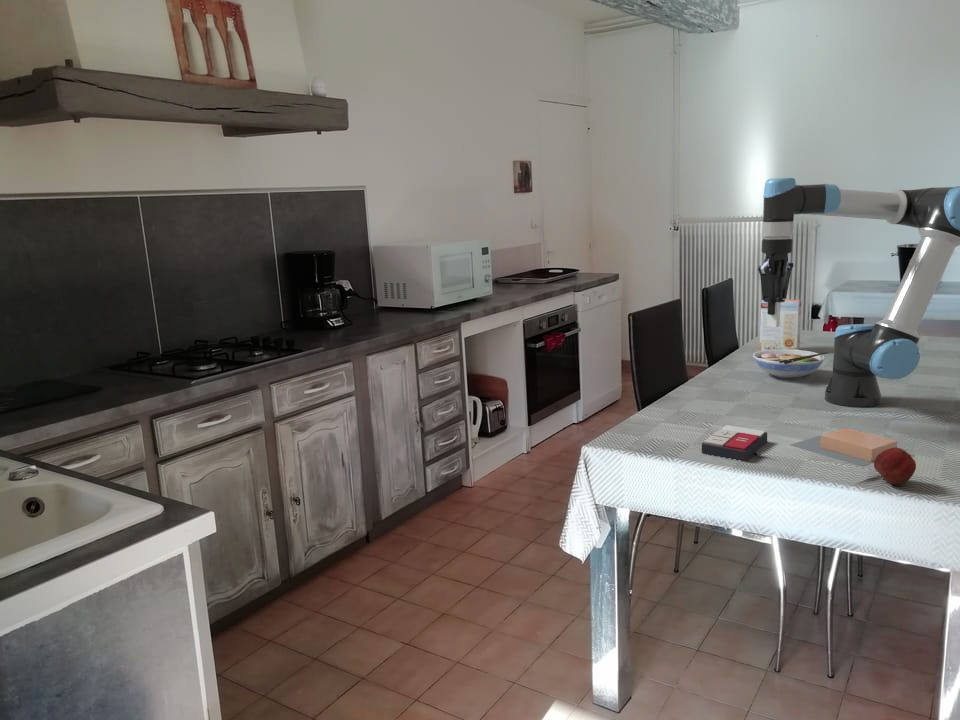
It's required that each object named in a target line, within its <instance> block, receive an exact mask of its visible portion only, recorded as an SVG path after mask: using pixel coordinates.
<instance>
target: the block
mask: <svg viewBox="0 0 960 720" xmlns="http://www.w3.org/2000/svg"><path fill="white" fill-rule="evenodd" d="M820 436H821V442H820V447H821V448H824V449H828V450H831V451H835V452H838V453H842V454H845V455H849V456H852V457H856V458H860V459H863V460H867V461H870V462H872V461H875V459H876V457H877V456H878V455H879V454H880V453H881V452H883V451H885V450H887V449H890V448H895V447H897V448H898V440H895V439H891V438H887V437H882V436H879V435H876V434H871V433H867V432H863V431H860V430H855V429H853V428H852V429H851V428H847V427H845V428H841V429H838V430H834V431H830V432H829V433H828V434H827V433H824V434H821V435H820Z"/></svg>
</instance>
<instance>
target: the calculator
mask: <svg viewBox="0 0 960 720" xmlns="http://www.w3.org/2000/svg"><path fill="white" fill-rule="evenodd" d="M767 443H768V432H767V431H764V430H760V429H753V428H747V427H742V426H741V427H740V426H734V425H728V424H725V425H724V426H722V428H720V429H718V430H716V431H715V432H714V433H713V434H712V435H710V436H709V437H708V438H707V439H705V440H704V441H703V442H702V443H701V454H702V453H703V454H702V455H707V454H708V456H712V455H714V456H713V457H717V456H720V457H719V458H723V457H725V458H724V459H728V458H731V459H730V460H733V459H736V460H735V461H738V460H741V461H740V462H744V461H746V462H747V461H749V460H750V459H751V458H752V457H754V456H755V455H756V454H757V452H756V451H758V450H759V449H761V447H763V446H765V445H766V444H767ZM754 454H755V455H754ZM753 455H754V456H753ZM749 458H750V459H749ZM748 459H749V460H748Z"/></svg>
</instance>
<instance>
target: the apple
mask: <svg viewBox="0 0 960 720" xmlns="http://www.w3.org/2000/svg"><path fill="white" fill-rule="evenodd" d="M902 449H903V448H900V447H898V446H897V447H895V448H890V449H887V450H885V451H883V452H881V453H880V454H879V455H878V456H877V457H876V459H875V461H874V462H873V467H874V469H875V471H876V472H878V473H879V475H880V476H881V478H882V481H885V482H887V483H888V484H890V485H894V486H895V485H896V486H897V485H898V486H899V485H903V484H905V483H906V482H908V481H909V480H910V479H911V478H912V477H913V476H914V474H915V472H916V469H917V463H916V460H915V459H914V458H913V457H912V456H911V455H910V453H908V451H904V450H905V449H904V450H902Z"/></svg>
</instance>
